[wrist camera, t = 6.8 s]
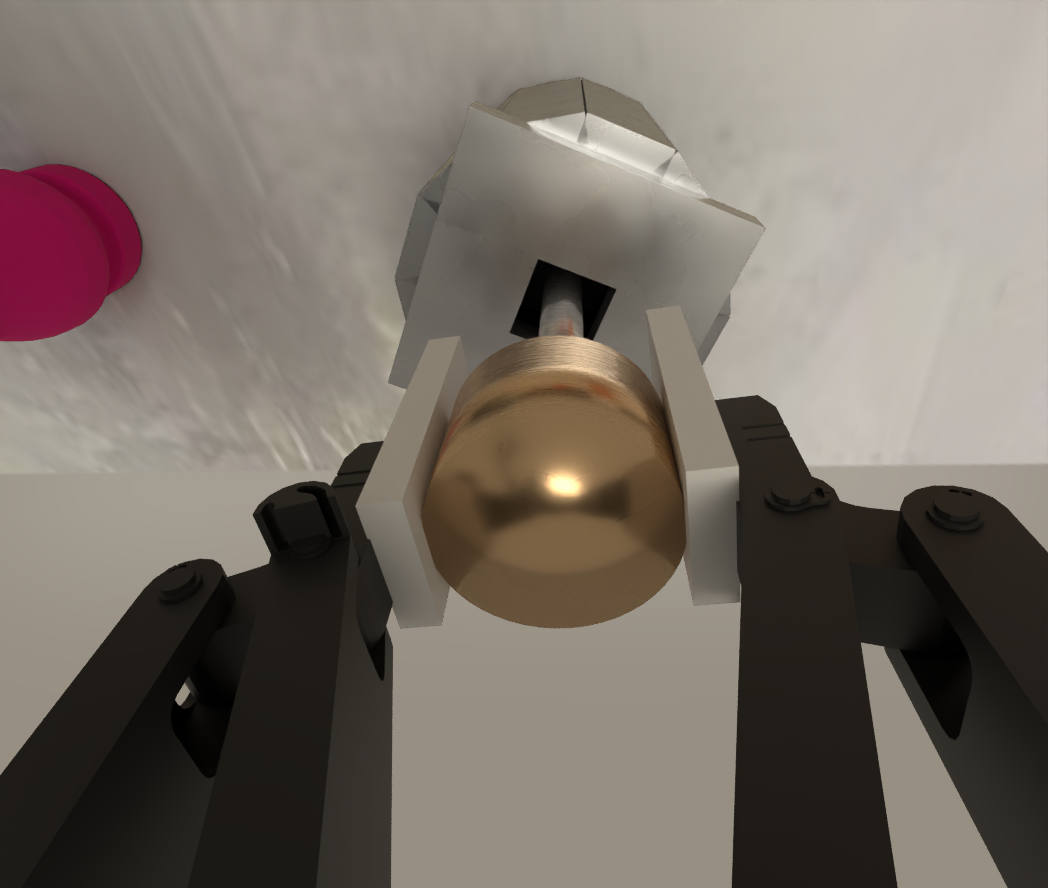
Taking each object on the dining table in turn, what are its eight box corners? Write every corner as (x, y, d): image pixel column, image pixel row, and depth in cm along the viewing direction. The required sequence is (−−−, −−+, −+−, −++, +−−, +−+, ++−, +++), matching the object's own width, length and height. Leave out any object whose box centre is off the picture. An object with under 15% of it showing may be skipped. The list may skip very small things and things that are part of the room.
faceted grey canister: (417, 314, 36) (337, 467, 24) (500, 41, 29) (448, 58, 17) (596, 380, 37) (607, 556, 25) (714, 133, 30) (808, 210, 18)
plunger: (456, 273, 30) (301, 613, 13) (512, 99, 26) (400, 255, 9) (609, 331, 31) (654, 718, 14) (684, 171, 27) (872, 433, 10)
